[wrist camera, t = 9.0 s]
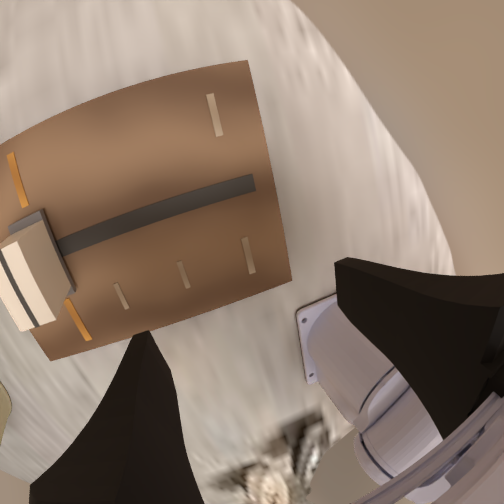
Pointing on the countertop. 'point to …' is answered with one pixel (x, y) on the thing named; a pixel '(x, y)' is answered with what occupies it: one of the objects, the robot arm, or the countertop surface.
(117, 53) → the countertop surface
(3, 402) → the can
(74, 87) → the countertop surface
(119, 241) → the board
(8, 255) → the fader
